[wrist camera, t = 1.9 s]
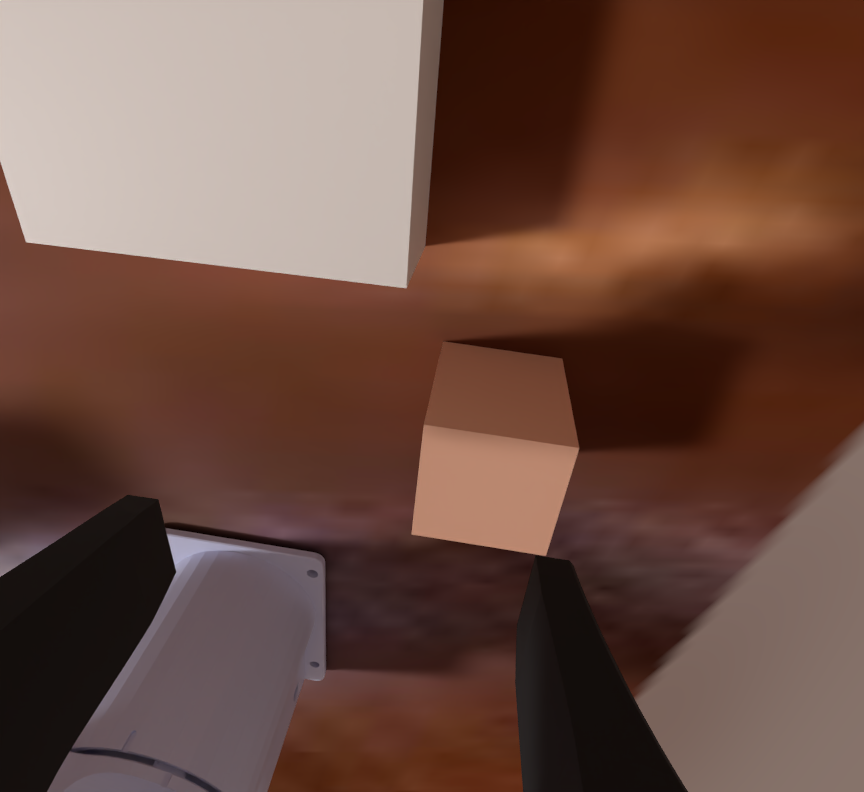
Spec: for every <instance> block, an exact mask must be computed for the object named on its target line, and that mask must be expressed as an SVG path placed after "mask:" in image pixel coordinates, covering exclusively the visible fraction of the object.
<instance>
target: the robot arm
mask: <svg viewBox="0 0 864 792" xmlns="http://www.w3.org/2000/svg"><path fill="white" fill-rule="evenodd" d="M325 673H326V586H325V559H324V558H323V557H322V555H320V554H318V553H315V552H309V551H303V550H297V549H291V548H285V547H279V546H273V545H267V544H261V543H255V542H248V541H242V540H236V539H230V538H224V537H218V536H212V535H206V534H200V533H194V532H188V531H182V530H175V529H169V528H165V525H164V520H163V516H162V512H161V508H160V504H159V500H158V499H152V498H145V497H138V496H132V495H127V496H125V497H124V498H122V499H120V500H119V501H117V502H116V503H114V504H112V505H111V506H109V507H108V508H106V509H105V510H103V511H101V512H100V513H98V514H97V515H95V516H94V517H92V518H91V519H89V520H88V521H86V522H85V523H83V524H82V525H80V526H79V527H77V528H75V529H74V530H72V531H71V532H69V533H68V534H66V535H65V536H63V537H62V538H60V539H59V540H57V541H56V542H54V543H53V544H51V545H49V546H48V547H46V548H45V549H43V550H42V551H40V552H39V553H37V554H35V555H34V556H32V557H31V558H29V559H28V560H26V561H25V562H23V563H21V564H20V565H18V566H17V567H15V568H14V569H12V570H11V571H9V572H7V573H6V574H4V575H3V576H1V577H0V792H267V790H268V788H269V785H270V782H271V779H272V775H273V772H274V769H275V766H276V763H277V760H278V757H279V754H280V751H281V748H282V745H283V742H284V739H285V736H286V733H287V730H288V727H289V724H290V721H291V718H292V715H293V712H294V709H295V706H296V703H297V700H298V697H299V694H300V691H301V688H302V685H303V682H304V679H310V680H316V681H319V680H322V679H323V678H324V676H325ZM515 683H516V698H517V712H518V727H519V740H520V754H521V768H522V781H523V792H688V791H687V789H686V788H685V786H684V785H683V783H682V781H681V780H680V778H679V777H678V775H677V773H676V772H675V770H674V768H673V767H672V765H671V763H670V762H669V760H668V758H667V757H666V755H665V753H664V751H663V750H662V748H661V746H660V745H659V743H658V741H657V739H656V737H655V736H654V734H653V732H652V730H651V728H650V727H649V725H648V723H647V721H646V720H645V718H644V716H643V714H642V712H641V711H640V709H639V707H638V705H637V703H636V701H635V699H634V697H633V696H632V694H631V692H630V690H629V688H628V686H627V684H626V682H625V680H624V678H623V676H622V674H621V672H620V670H619V668H618V666H617V664H616V662H615V660H614V658H613V656H612V654H611V652H610V650H609V648H608V646H607V644H606V642H605V639H604V637H603V635H602V633H601V631H600V629H599V626H598V624H597V622H596V620H595V617H594V615H593V613H592V611H591V608H590V606H589V604H588V601H587V599H586V597H585V594H584V592H583V589H582V587H581V584H580V582H579V579H578V577H577V574H576V571H575V568H574V566H573V565H572V563H571V562H570V561H569V560H562V559H555V558H549V557H542V556H535V560H534V564H533V567H532V571H531V575H530V579H529V582H528V586H527V590H526V593H525V597H524V601H523V605H522V608H521V612H520V616H519V620H518V623H517V641H516V679H515Z"/></svg>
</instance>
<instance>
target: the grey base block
mask: <svg viewBox="0 0 864 792" xmlns="http://www.w3.org/2000/svg"><path fill="white" fill-rule="evenodd" d="M443 4H444V0H0V162H1V165H2V168H3V171H4V174H5V177H6V181H7V184H8V187H9V190H10V193H11V196H12V199H13V202H14V206H15V209H16V212H17V215H18V218H19V221H20V224H21V228H22V231H23V234H24V237H25V240H26V242H29V243H37V244H46V245H54V246H62V247H70V248H79V249H87V250H95V251H103V252H112V253H120V254H128V255H136V256H145V257H153V258H161V259H169V260H178V261H186V262H194V263H203V264H211V265H219V266H227V267H236V268H244V269H252V270H260V271H269V272H277V273H285V274H293V275H302V276H310V277H318V278H326V279H335V280H343V281H351V282H359V283H368V284H376V285H384V286H392V287H401V288H407V286H408V284H409V281H410V279H411V277H412V275H413V273H414V270H415V268H416V266H417V264H418V261H419V259H420V257H421V255H422V253H423V250H424V248H425V245H426V231H427V218H428V205H429V191H430V178H431V165H432V151H433V138H434V125H435V111H436V98H437V85H438V71H439V58H440V44H441V31H442V18H443Z"/></svg>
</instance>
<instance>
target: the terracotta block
mask: <svg viewBox="0 0 864 792" xmlns="http://www.w3.org/2000/svg"><path fill="white" fill-rule="evenodd" d="M578 451H579V444H578V439H577V433H576V428H575V423H574V418H573V412H572V407H571V402H570V396H569V391H568V386H567V380H566V375H565V370H564V365H563V359H562V358H555V357H549V356H542V355H535V354H528V353H521V352H514V351H507V350H500V349H493V348H486V347H479V346H473V345H466V344H459V343H452V342H445V341H443V344H442V348H441V353H440V357H439V361H438V366H437V370H436V374H435V379H434V383H433V387H432V392H431V396H430V400H429V405H428V409H427V413H426V418H425V422H424V428H423V437H422V446H421V455H420V463H419V472H418V481H417V490H416V499H415V507H414V516H413V525H412V535H419V536H425V537H431V538H437V539H443V540H450V541H456V542H462V543H468V544H474V545H481V546H487V547H493V548H499V549H505V550H512V551H518V552H524V553H530V554H536V555H543V556H546V554H547V551H548V548H549V544H550V541H551V538H552V535H553V531H554V528H555V525H556V522H557V519H558V515H559V512H560V509H561V506H562V502H563V499H564V496H565V493H566V489H567V486H568V483H569V480H570V476H571V473H572V470H573V467H574V464H575V460H576V457H577V454H578Z"/></svg>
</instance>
